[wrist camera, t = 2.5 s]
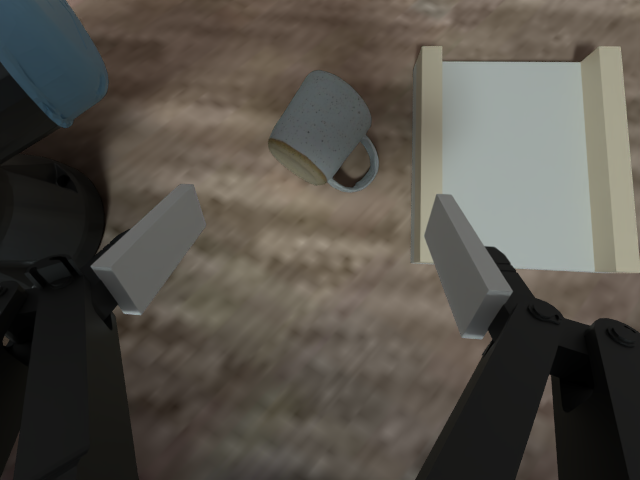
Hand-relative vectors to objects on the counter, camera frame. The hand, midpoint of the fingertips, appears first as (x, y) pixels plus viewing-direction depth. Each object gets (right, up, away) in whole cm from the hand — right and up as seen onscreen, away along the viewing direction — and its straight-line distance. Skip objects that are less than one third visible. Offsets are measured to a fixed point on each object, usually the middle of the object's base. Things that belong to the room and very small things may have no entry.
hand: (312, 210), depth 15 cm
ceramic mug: (+2, +8, +15) cm, 17 cm away
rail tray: (+20, +6, +14) cm, 25 cm away
